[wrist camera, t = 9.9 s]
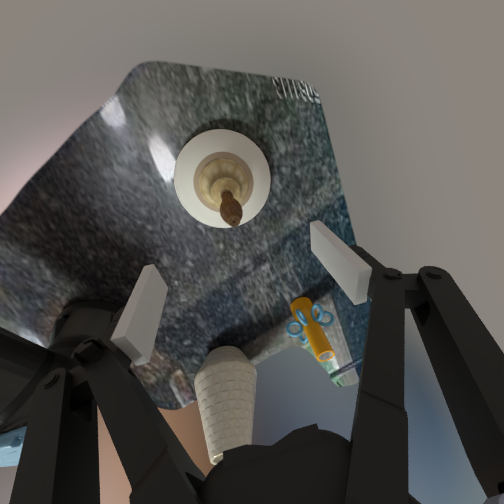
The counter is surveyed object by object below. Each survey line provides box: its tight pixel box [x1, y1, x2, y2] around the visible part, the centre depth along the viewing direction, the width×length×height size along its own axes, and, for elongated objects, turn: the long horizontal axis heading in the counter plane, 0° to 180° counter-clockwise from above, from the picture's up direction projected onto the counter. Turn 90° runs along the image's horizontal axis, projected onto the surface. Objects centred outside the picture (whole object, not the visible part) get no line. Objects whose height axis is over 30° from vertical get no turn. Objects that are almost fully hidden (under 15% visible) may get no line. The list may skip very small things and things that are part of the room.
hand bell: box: [199, 158, 249, 227], centre depth 28 cm, size 8×8×16 cm
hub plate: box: [174, 129, 271, 228], centre depth 35 cm, size 16×16×2 cm
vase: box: [194, 346, 256, 465], centre depth 54 cm, size 17×17×23 cm
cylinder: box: [286, 297, 335, 362], centre depth 50 cm, size 12×10×15 cm
